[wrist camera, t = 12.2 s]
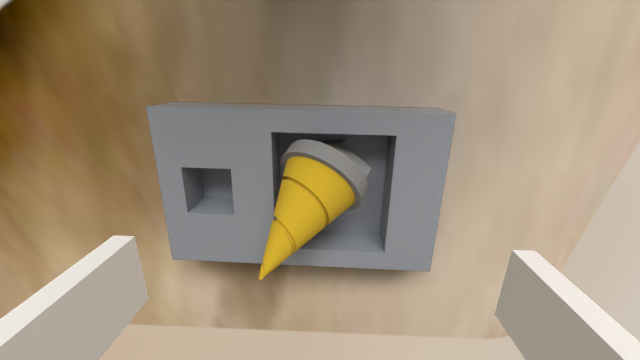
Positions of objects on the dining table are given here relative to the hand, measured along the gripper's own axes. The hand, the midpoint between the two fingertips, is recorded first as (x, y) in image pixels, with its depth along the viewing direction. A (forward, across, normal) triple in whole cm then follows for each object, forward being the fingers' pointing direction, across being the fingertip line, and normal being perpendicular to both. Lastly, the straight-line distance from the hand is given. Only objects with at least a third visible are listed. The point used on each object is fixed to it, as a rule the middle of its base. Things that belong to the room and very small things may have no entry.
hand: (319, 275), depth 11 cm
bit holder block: (+11, -2, 0) cm, 11 cm away
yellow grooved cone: (+10, 0, 0) cm, 10 cm away
